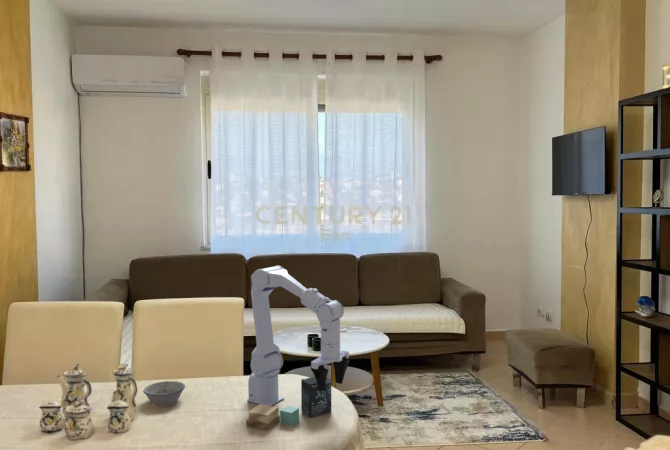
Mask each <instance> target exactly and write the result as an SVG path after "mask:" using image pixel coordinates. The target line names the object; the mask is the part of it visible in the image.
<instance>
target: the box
mask: <svg viewBox="0 0 670 450" xmlns="http://www.w3.org/2000/svg"><path fill="white" fill-rule="evenodd" d="M300 384H301V387H300V388H301V391H300V393H301V395H300V396H301V407H300V408H301V410H300V412H301V413H302V414H304V415H305V416H307V417H308V418H310V419H311V418H314V417H317V416H320V415H321V416H322V415H326V414H329V413H332V379H330V378H329V377H327V378H326V389H325V391H322V390H319V388H318V384H317V381H316V378H315V376H312V377H307V378H301V383H300Z"/></svg>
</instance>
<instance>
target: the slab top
mask: <svg viewBox="0 0 670 450" xmlns="http://www.w3.org/2000/svg"><path fill="white" fill-rule="evenodd" d="M278 415H279V406H273V405H272V406H269V405H262V404H257V405H256V406H255V407H253V408H252V409H251V410H249V411H248V418H249V420H250V421H256V422H262V423H267V424H268V423H269V422H271V421H272V420H273V419H274V418H275V417H277V416H278Z"/></svg>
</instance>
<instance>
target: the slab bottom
mask: <svg viewBox="0 0 670 450" xmlns="http://www.w3.org/2000/svg"><path fill="white" fill-rule="evenodd" d="M279 424H281V423H280V414H278V416H277V417H275V418H274V419H273V420H272V421H271V422H269V423H268V424H267V423H262V422H256V421H250V420H249V417H248V418H247V419H246V427H250V428H252V429H256V430H260V431H265V432H267V431H268V430H270V429H271V428H273V427H275V426H276V425H279Z"/></svg>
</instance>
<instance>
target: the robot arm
mask: <svg viewBox="0 0 670 450" xmlns="http://www.w3.org/2000/svg"><path fill="white" fill-rule="evenodd" d="M250 279H251V282H250V283H251V287H250V288H251V290H250V295H251V305H252V315H253V323H254V332H255V341H256V342H255V343H256V346H255V348H254V349H253V351H251V353H250V354H251V360H250V369H251V374H250V375H249V377H248V383H247V384H248V385H247V387H248V392H247V393H248V399H246V401H247V402H250V403H254V404H257V405H259V404H262V405H269V406H273V405H276V404H277V403H279V402H280V401H282V400H284V399H285V397H284V396H281V395H279V373H280V369H281V368H282V367H283V365H284V359H283V356H282V355H281V351H280V350H281V349H280V347H279V346H278V345H276V343H274V341H275V340H274V334H273V325H272V316H271V308H270V297H269V296H270V295H271V293H272V292H273V291H274V289H276V288H279V287H280V288H281V287H282V288H283V289H285V290H286V291H288V292H289V293H291V294H293V295H295V296H296V297H298V298H300V303H301V304H302V305H303V306H304V307H306V308H307V309H309V310H310V311H311V312H313V313H314V314H315V315H316V318H317V319H318V322H319V327H320V356H319V357H317V358H315V359H314V360H311V362H310V365H311V366H310V370H311V372H312V374H313V377H315V378H316V381H317V384H318V388H319V390H322V391H325V389H326V378H328V373H329V371H330V370H329V368H325V366H326V365H329V364H332V365H333V368H334V379H335V380H334V381H335V383H336V384H339V385H343V382H344V377H345V374H346V372H347V368H348V367H349V365H350V362H351V361H350V359H349V358H350V357H349V354H350V353H349V351H348V350H341V319H342V317H343V316H344V312H345V311H344V306H343V305H342V302H340V301H339V300H336V299H333V300H331V299H330V298H329V297H328V296H325V295H324V294H323V293H320V292H319V289H317V288H313V287H309V288H307V287H305V286H303V284H302V283H301V282H299V281H298V280H297V279H295V278H294V277H293V276H291V275H290V274H289V273H288V270H287V269H285V268H284V267H282V266H281V265H275V266H274V265H273V266H270V267H264V268H259V269H256V270H255V271H254V272H253V273H252V274H251V275H250Z"/></svg>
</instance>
